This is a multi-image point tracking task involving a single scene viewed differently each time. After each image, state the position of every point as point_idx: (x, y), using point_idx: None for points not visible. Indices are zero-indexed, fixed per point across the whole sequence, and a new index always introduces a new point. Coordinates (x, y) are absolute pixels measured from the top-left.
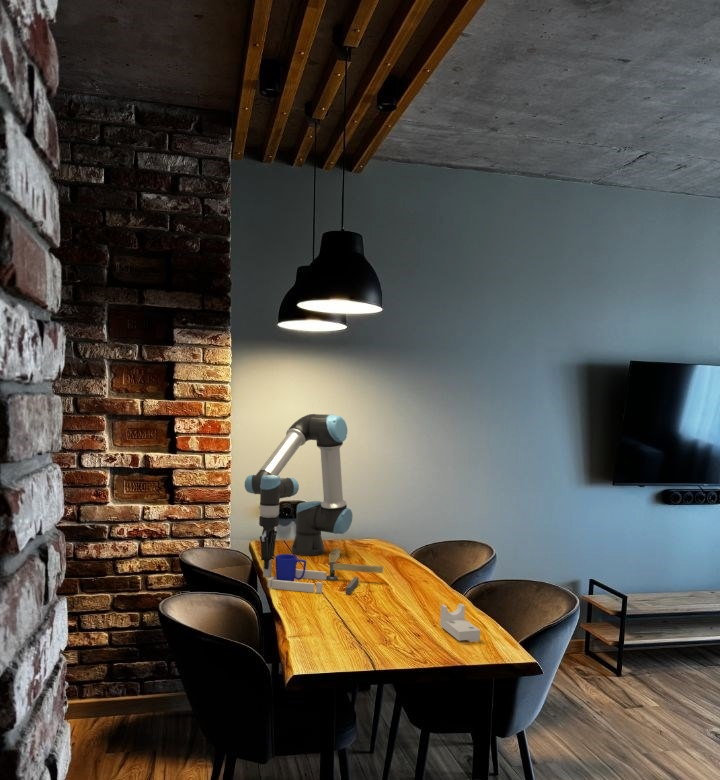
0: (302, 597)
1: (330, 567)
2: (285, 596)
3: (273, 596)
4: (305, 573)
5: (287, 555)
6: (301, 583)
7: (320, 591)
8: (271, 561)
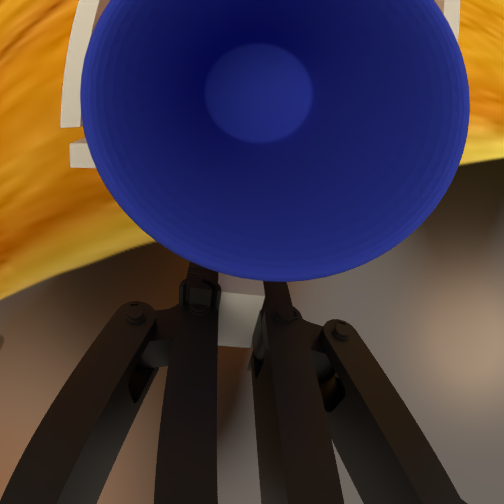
0: (494, 36)
1: None
2: (492, 104)
3: (490, 156)
4: None
5: (109, 101)
6: (459, 7)
7: None
8: (225, 279)
